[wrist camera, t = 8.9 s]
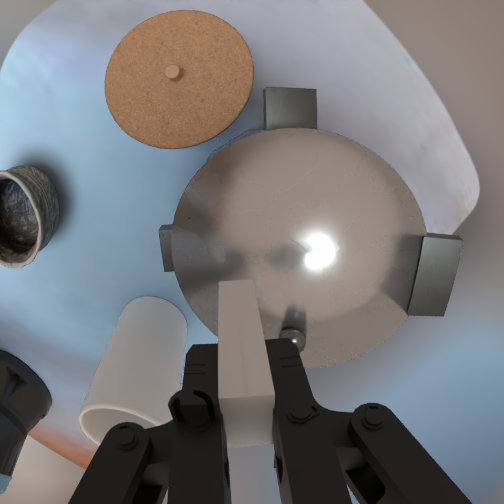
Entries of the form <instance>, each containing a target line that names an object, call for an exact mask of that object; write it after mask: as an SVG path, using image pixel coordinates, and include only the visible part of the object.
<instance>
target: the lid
mask: <svg viewBox="0 0 504 504" xmlns="http://www.w3.org/2000/svg"><path fill="white" fill-rule="evenodd" d="M463 242H464V241H463V240H462V239H461V238H460V237H459V236H456V235H446V234H436V233H427V231H426V226H425V223H424V219H423V216H422V213H421V210H420V208H419V206H418V203H417V201H416V199H415V197H414V195H413V193H412V192H411V190H410V189H409V187H408V186H407V184H406V183H405V181H404V180H403V179H402V178H401V176H400V175H399V174H398V173H397V172H396V171H395V170H394V169H393V168H392V167H391V166H390V165H389V164H388V163H387V162H386V161H385V160H383V159H382V158H381V157H380V156H378V155H377V154H376V153H375V152H373V151H371V150H370V149H368V148H366V147H365V146H363V145H361V144H360V143H358V142H356V141H353V140H351V139H349V138H346V137H344V136H341V135H339V134H335V133H331V132H327V131H323V130H318V129H308V128H283V129H275V130H270V131H265V132H260V133H257V134H254V135H251V136H248V137H245V138H243V139H240V140H238V141H237V142H235V143H233V144H231V145H229V146H227V147H225V148H224V149H222V150H221V151H220V152H218V153H217V154H216V155H214V156H213V157H212V158H210V159H209V160H208V161H207V162H206V163H205V164H204V165H203V166H202V167H201V168H200V169H199V170H198V172H197V173H196V174H195V176H194V177H193V178H192V180H191V181H190V182H189V184H188V185H187V187H186V189H185V191H184V193H183V195H182V197H181V199H180V201H179V204H178V207H177V210H176V213H175V217H174V222H173V227H172V237H171V249H172V260H173V265H174V270H175V274H176V277H177V280H178V283H179V286H180V288H181V290H182V292H183V294H184V296H185V299H186V300H187V302H188V304H189V305H190V307H191V308H192V310H193V311H194V313H195V314H196V315H197V317H198V318H199V319H200V320H201V321H202V323H203V324H204V325H205V326H206V327H207V328H208V329H209V330H210V331H211V332H212V333H213V334H215V335H216V336H217V337H218V299H219V281H236V280H252V279H253V282H254V288H255V293H256V298H257V303H258V309H259V314H260V319H261V324H262V329H263V335H264V340H266V339H278V338H288V337H289V338H290V339H291V340H292V341H293V342H294V343H295V344H296V345H297V347H298V350H299V353H300V358H301V360H302V363H303V366H304V368H316V367H317V368H318V367H325V366H331V365H336V364H340V363H344V362H347V361H350V360H352V359H355V358H357V357H360V356H362V355H364V354H366V353H367V352H369V351H371V350H373V349H375V348H376V347H377V346H379V345H380V344H382V343H383V342H385V341H386V340H387V339H388V338H389V337H390V336H392V335H393V334H394V333H395V332H396V331H397V330H398V329H399V328H400V326H401V325H402V324H403V323H404V321H405V320H406V319H407V318H408V316H409V315H413V316H415V315H416V316H444V314H445V311H446V307H447V304H448V301H449V298H450V294H451V291H452V287H453V284H454V280H455V276H456V272H457V268H458V264H459V260H460V256H461V251H462V247H463Z"/></svg>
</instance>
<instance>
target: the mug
mask: <svg viewBox="0 0 504 504" xmlns="http://www.w3.org/2000/svg"><path fill="white" fill-rule="evenodd" d="M58 221H59V201H58V197H57V192H56V190H55V188H54V185H53V184H52V182H51V180H50V179H49V177H48V176H47V175H46V173H44V172H42V171H41V170H39V169H38V168H35V167H31V166H17V167H13V168H11V169H8V170H6V171H0V264H1V265H3V266H5V267H8V268H22V267H24V266H25V265H27V264H30V263H31V262H32V261H33V260H34V259H35V257H36V255H37V253H38V252H39V251H41V250H42V249H43V248H44V247H45V246H46V245H47V244H48V243H49V241H50V240H51V238H52V236H53V235H54V233H55V230H56V228H57V225H58Z"/></svg>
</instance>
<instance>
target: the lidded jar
mask: <svg viewBox="0 0 504 504" xmlns="http://www.w3.org/2000/svg"><path fill="white" fill-rule="evenodd" d="M253 79H254V66H253V61H252V56H251V53H250V51H249V48H248V46H247V44H246V42H245V41H244V39H243V37H242V36H241V35H240V34H239V33H238V32H237V30H236V29H235V28H234V27H232V26H231V25H230V24H229V23H227V22H226V21H224V20H222V19H220V18H219V17H217V16H214V15H211V14H209V13H206V12H200V11H195V10H178V11H170V12H166V13H163V14H159V15H157V16H154V17H152V18H150V19H148V20H146V21H144V22H143V23H141V24H139V25H138V26H136V27H135V28H134V29H133V30H131V31H130V32H129V33H128V34H127V35H126V36H125V37H124V38H123V39H122V41H121V42H120V43H119V45H118V46H117V48H116V49H115V51H114V53H113V55H112V57H111V59H110V61H109V64H108V67H107V70H106V76H105V96H106V102H107V105H108V108H109V110H110V113H111V115H112V116H113V118H114V120H115V121H116V123H117V124H118V125H119V126H120V127H121V129H122V130H123V131H125V132H126V133H127V134H128V135H129V136H131V137H132V138H134V139H136V140H137V141H139V142H141V143H144V144H146V145H149V146H153V147H157V148H164V149H179V148H187V147H191V146H196V145H198V144H201V143H203V142H206V141H208V140H210V139H212V138H214V137H215V136H217V135H219V134H220V133H221V132H223V131H224V130H225V129H227V128H228V127H229V126H230V125H231V124H232V123H233V122H234V121H235V120H236V119H237V117H238V116H239V114H240V113H241V112H242V110H243V109H244V107H245V105H246V103H247V101H248V99H249V96H250V93H251V90H252V85H253Z"/></svg>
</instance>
